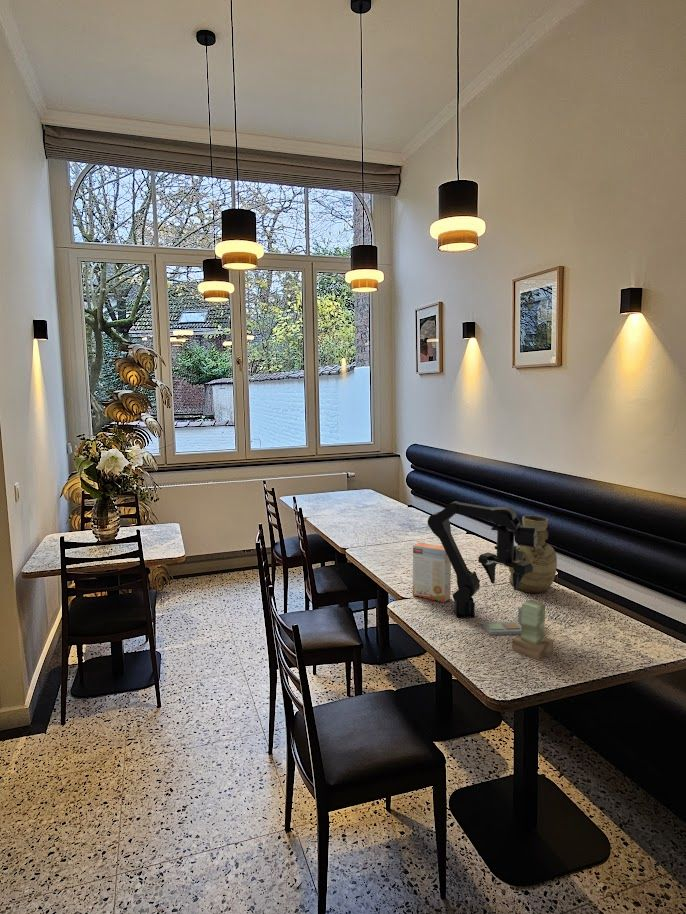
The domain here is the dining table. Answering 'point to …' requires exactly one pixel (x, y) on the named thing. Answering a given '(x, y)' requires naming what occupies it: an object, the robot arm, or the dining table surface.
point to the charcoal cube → (520, 615)
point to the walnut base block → (533, 647)
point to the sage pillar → (533, 622)
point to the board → (502, 628)
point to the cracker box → (431, 572)
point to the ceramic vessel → (537, 559)
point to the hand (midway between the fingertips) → (504, 586)
